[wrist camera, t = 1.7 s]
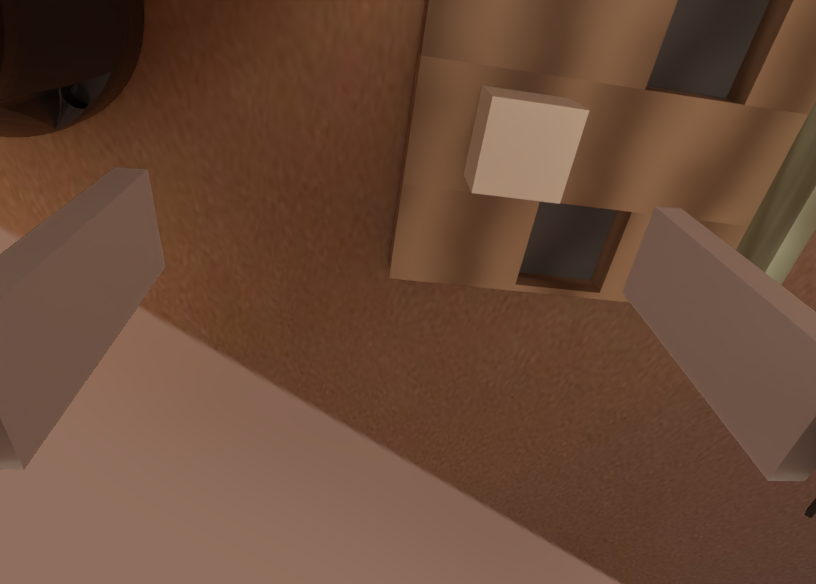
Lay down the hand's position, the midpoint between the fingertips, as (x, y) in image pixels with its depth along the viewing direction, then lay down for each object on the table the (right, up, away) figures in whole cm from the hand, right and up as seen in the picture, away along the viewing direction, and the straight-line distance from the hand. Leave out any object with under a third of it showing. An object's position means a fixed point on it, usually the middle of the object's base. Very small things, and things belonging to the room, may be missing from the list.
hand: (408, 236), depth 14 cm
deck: (+12, +8, +18) cm, 23 cm away
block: (+6, +7, +15) cm, 18 cm away
